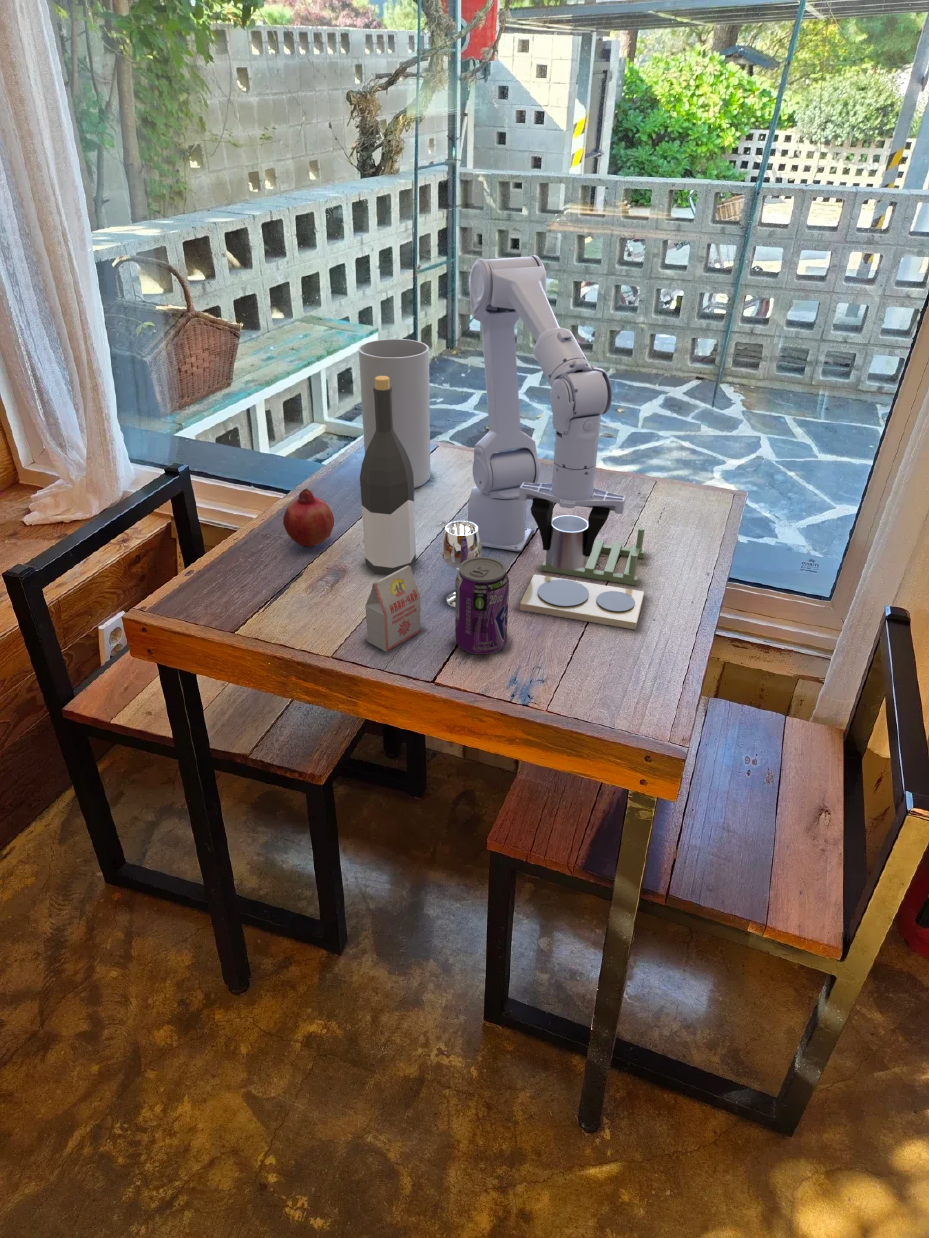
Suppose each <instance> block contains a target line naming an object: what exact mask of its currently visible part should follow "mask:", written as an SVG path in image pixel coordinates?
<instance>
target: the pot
mask: <svg viewBox="0 0 929 1238" xmlns="http://www.w3.org/2000/svg"><path fill="white" fill-rule="evenodd" d="M587 538H588V519H585V518H583V517H580V516H578V515H571V514H566V515H564V514H563V515H557V516H555V517H552V520H551V522H550V534H549V548H548V562H549V564H550V565H552V566H553V567H555V568H558V569H563V570H575V569H579V568H584V566H586V564H587V557H586V556H585V549H586V543H587Z"/></svg>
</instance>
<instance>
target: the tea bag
mask: <svg viewBox="0 0 929 1238" xmlns="http://www.w3.org/2000/svg"><path fill="white" fill-rule="evenodd" d="M413 574H414V573H413V570H412V569H411V566H409V565H408V566H406V567H404V568H402V569H400V570H398V571H396V572H394V573H392V574H390V575H385V576H384V577H383V578H381V579H379V580H377V581H375V582H373V583H372V585H371V590H370V593H369V596H368V598H367V600H366V603H365V605H364V607H365V621H366V623H365V625H366V637H367V642H368V643H369V644H371V645H373V646H375V647H377V648H378V649H380V650H382V651H383V652H389V651H390V650H392V649H394V648H395V647H397V646H399V645H401V644H402V643H404V642H406V641H407V640H409V639H410V638H412V637H414V636H416V635H417V634H418V633H421V631H422V628H421V627H422V626H421V625H422V624H421V595H420V592H419V589H418V586H417V583H416V580H415V577H414V575H413Z"/></svg>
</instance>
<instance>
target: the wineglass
mask: <svg viewBox="0 0 929 1238" xmlns="http://www.w3.org/2000/svg"><path fill="white" fill-rule="evenodd" d="M482 548H483V547H482V546H481V539H480V534H479V530H478V527H477V525H476V524H474V523H472V522H468V520H455V521H451V522H449V523H448V524H446V525H445V528H444V531H443V535H442V539H441V557H442V559H443V561H444V563H445V564H446V566H448V567H449V568H451V569H454V570H457V571H458V572H457V574H458V573H459V566H460V564H461V563H462V562H463V561H465V560H467V559H470V558H474V557H482V550H483V549H482ZM445 602H446V603H447V605H448V606H450V607H452V608H455V592H452V593H449V594H448V595H447V596H446V599H445Z"/></svg>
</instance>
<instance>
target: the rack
mask: <svg viewBox="0 0 929 1238" xmlns="http://www.w3.org/2000/svg"><path fill="white" fill-rule="evenodd" d="M644 537H645V528H644V527H638V529H637V536H636V544H631V547H626V546H623V542H618V541H613V543H612V544H606V543H605V540H604V539H597V538H596V539H595V541H594V544H593V548H592V552H591V555H590V557H587V558H588V559H587V560H586V563H585V565H584V566H585V567H581V568H579V569H575V570H563V569H558V568H555V567H553V566H552V565H550V564H549V562H548V551H546V555H545V561H543V562H542V564H541V571H542V572H548V573H556V574H560V575H567V576H575V577H582V578H587V579H593V580H600V581H604V582H605V581H606V582H611V583H617V584H625V585H631V586H637V585H638V581H639V580H638V579H639V576H637V575H636V569H637V562H638V559H644V558H645V553H646V550H645V549H643V545H644V544H643V543H644ZM601 553H603V554H609V555H608V558H607V561H606V564H605V567H604V569H603V570H598V569H596V567H597V564H598V561H599V558H600V556H601ZM620 556H623V557H627V561H626V564H625V568H624V570H623V573H617V572H615V569H616V566H617V564H618V561H619V557H620Z"/></svg>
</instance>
